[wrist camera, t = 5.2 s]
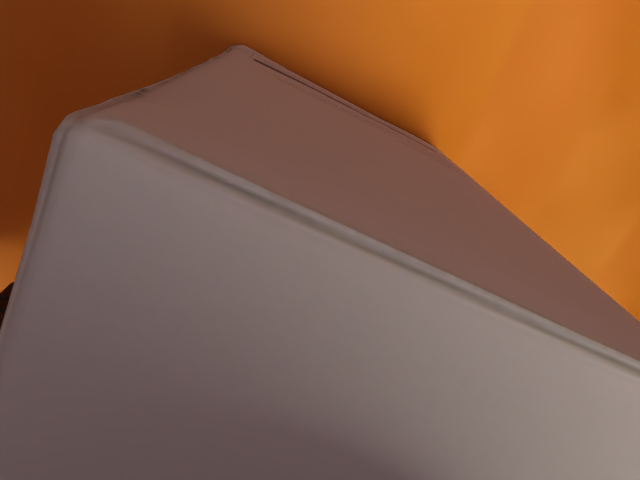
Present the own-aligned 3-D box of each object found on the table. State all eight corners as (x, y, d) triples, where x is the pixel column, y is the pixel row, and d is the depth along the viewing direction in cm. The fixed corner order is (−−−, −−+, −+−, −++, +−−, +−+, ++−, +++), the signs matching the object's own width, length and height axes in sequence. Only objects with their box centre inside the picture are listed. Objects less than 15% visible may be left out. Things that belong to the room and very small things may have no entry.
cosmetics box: (287, 419, 17) (274, 924, 8) (103, 353, 16) (-200, 867, 6) (452, 150, 14) (823, 456, 4) (233, 34, 12) (-6, 79, 3)
